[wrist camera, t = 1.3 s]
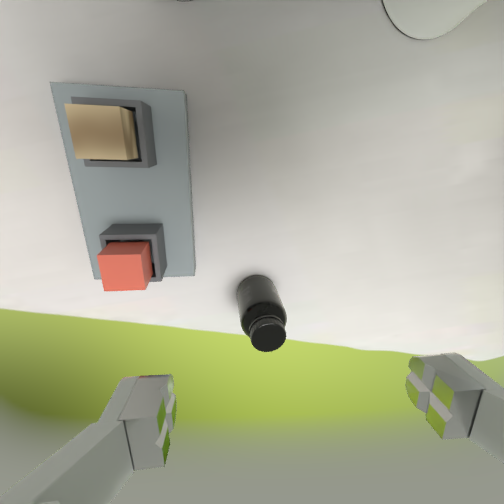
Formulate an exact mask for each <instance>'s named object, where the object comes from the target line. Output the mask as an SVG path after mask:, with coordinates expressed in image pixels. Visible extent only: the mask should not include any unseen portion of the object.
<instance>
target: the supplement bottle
mask: <svg viewBox="0 0 504 504" xmlns="http://www.w3.org/2000/svg"><path fill="white" fill-rule="evenodd" d="M237 301H238V308H239V315H240V322H241V327H242V329H243V331H244V333H245V334H246V335H247V336H249V337H250V339H251V342H252V345H253V346H254V347H255V348H256V349H258V350H259V351H264V352H269V351H273V350H276V349H278V348H279V347H281V345H283V343H284V342H285V340H286V332H285V325H286V322H287V315H286V312H285V309H284V307H283V304H282V302H281V300H280V297H279V295H278V293H277V290H276V288H275V286H274V284H273V283H272V281H271V280H269V279H268V278H266V277H263V276H252V277H249V278H247V279H245V280H244V281H243V282H242V283H241V284H240V286H239V287H238V290H237Z"/></svg>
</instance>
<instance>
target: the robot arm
mask: <svg viewBox="0 0 504 504" xmlns="http://www.w3.org/2000/svg"><path fill="white" fill-rule="evenodd" d="M486 1H488V0H383V3H384V6H385V8H386V11H387V13H388V15H389V17H390V18H391V20H392V22H393V23H394V24H395V25H396V27H397V28H398V29H399V30H401V31H402V32H403V33H405V34H406V35H408V36H410V37H413V38H416V39H433V38H437V37H440V36H442V35H444V34H446V33H448V32H449V31H451V30H452V29H454V28H455V27H456V26H458V25H459V24H460V23H461V22H462V21H463V20H464V19H465V18H466V17H467V16H468V15H470V14H471V13H472V12H473V11H474V10H476V9H477V8H478V7H480V6H481V5H482V4H484V3H485V2H486ZM409 368H410V369H411V371H412V372H411V373H410V374H409V375H408V376H407V377H406V390H407V394H408V396H409V398H410V400H411V401H412V403H413V404H414V405H415V406H416V408H418V409H420V410H421V411H423V412H425V413H426V420H427V421H428V423H429V424H430V425H431V426H432V427H433V429H434V430H435V431H436V432H437V434H438V435H439V436H440V438H441V439H458V438H469V440H471V441H472V442H474V443H475V444H476V445H478V446H479V447H481V448H482V449H484V450H485V451H486V452H488V453H489V454H491V455H492V456H494V457H495V458H496V459H498V460H499V461H501V462H502V463H504V388H503V387H502V386H500V385H499V384H498V383H497V382H495V381H494V380H493V379H491V378H490V377H489V376H487V375H486V374H484V372H482V371H481V370H480V369H478V368H477V367H476V366H474V365H473V364H472V363H470V362H469V361H468V360H467V359H465V358H464V357H463V356H462V355H460V354H457V353H446V354H440V355H426V356H414V357H412V358H411V359H410V361H409ZM173 386H174V381H173V376H172V375H171V374H169V375H149V376H135V377H124V378H123V379H121V380H120V382H119V384H118V386H117V387H116V389H115V391H114V393H113V395H112V397H111V398H110V400H109V402H108V404H107V406H106V408H105V409H104V411H103V413H102V415H101V417H100V419H99V420H98V422H97V423H92V424H90V425H89V426H88V427H87V428H85V429H84V430H83V431H82V432H80V433H79V434H78V435H77V436H75V437H74V438H73V439H71V440H70V441H69V442H68V443H66V444H65V445H64V446H63V447H61V448H60V449H59V450H58V451H56V452H55V453H54V454H53V455H51V456H50V457H49V458H48V459H46V460H45V461H44V462H42V463H41V464H40V465H39V466H37V467H36V468H35V469H34V470H32V471H31V472H30V473H29V474H27V475H26V476H25V477H24V478H22V479H21V480H20V481H19V482H17V483H16V484H15V485H14V486H12V487H11V488H10V489H8V490H7V491H6V492H5V493H3V494H2V495H1V496H0V504H110V503H111V502H112V500H113V499H114V498H115V496H116V495H117V494H118V493H119V491H120V490H121V488H123V486H124V485H125V483H126V482H127V481H128V480H129V479H130V477H131V476H132V475H133V473H134V471H135V470H143V469H150V468H157V467H165V464H166V459H167V455H168V451H169V446H170V438H169V433H170V432H171V431H172V430H173V429H174V424H175V419H176V395H175V394H174V393H172V390H173Z"/></svg>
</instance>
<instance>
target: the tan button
mask: <svg viewBox="0 0 504 504" xmlns="http://www.w3.org/2000/svg"><path fill="white" fill-rule="evenodd" d="M64 105H65V110H66V115H67V119H68V124H69V129H70V133H71V138H72V143H73V147H74V152H75V157H76V159H107V160H130V159H135V158H138V151H137V144H136V136H135V128H134V120H133V112H132V111H130V110H127V109H124V108H122V107H119V106H102V105H83V104H65V103H64Z"/></svg>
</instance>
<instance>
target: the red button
mask: <svg viewBox="0 0 504 504" xmlns="http://www.w3.org/2000/svg"><path fill="white" fill-rule="evenodd" d="M97 259H98V264H99V269H100V273H101V278H102V283H103V287H104V291H127V290H146V288H147V285H148V283H149V281H150V279H151V277H152V275H153V270H152V262H151V254H150V246H149V242H110V243H109V244H108V245H107V246H106V247H105V248H104V249H103V250H102V251H101V252H100V253H99V254H97Z"/></svg>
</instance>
